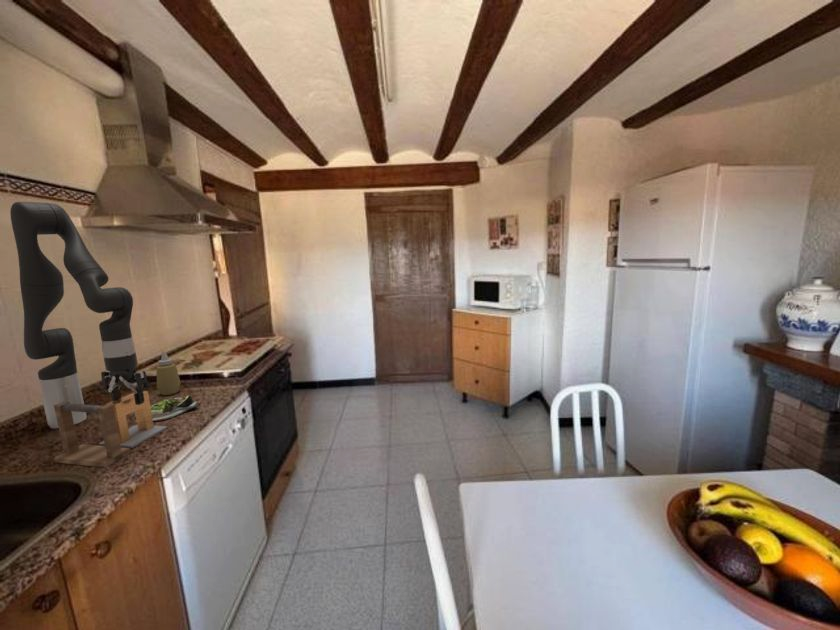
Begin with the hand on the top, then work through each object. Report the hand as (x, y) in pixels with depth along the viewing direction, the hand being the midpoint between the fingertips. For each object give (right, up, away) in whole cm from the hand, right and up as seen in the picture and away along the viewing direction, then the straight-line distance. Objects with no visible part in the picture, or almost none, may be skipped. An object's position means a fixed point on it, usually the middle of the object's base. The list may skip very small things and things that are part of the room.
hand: (128, 403), depth 109 cm
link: (0, -10, +2) cm, 11 cm away
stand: (-2, -13, -10) cm, 16 cm away
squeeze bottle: (-14, -5, +38) cm, 40 cm away
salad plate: (-2, -9, +20) cm, 22 cm away
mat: (0, -11, +2) cm, 11 cm away
